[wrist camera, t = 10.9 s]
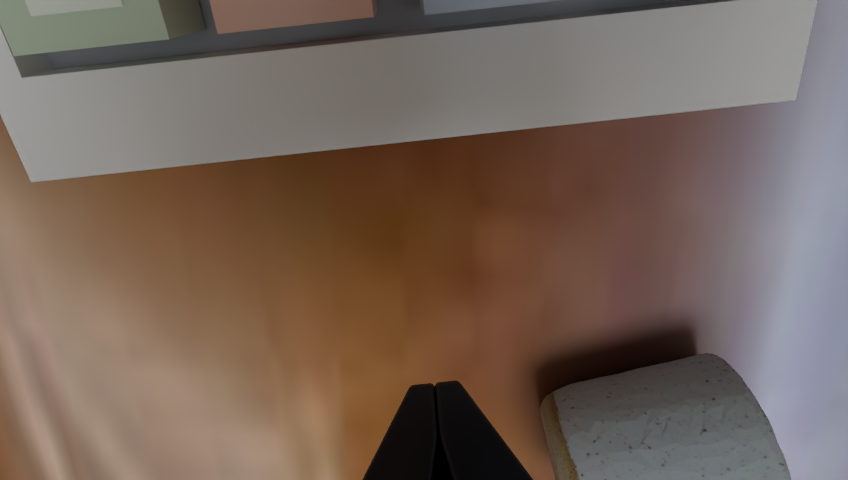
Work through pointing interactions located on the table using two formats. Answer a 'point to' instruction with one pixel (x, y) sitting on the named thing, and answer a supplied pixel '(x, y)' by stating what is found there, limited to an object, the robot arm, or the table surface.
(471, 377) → the table surface
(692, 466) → the ceramic mug
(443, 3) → the key slate
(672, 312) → the table surface
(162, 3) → the key sage
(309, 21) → the key terracotta
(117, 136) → the keypad
